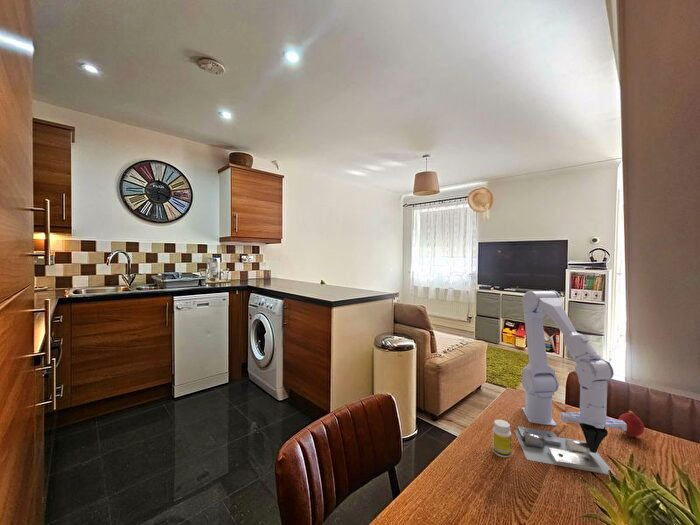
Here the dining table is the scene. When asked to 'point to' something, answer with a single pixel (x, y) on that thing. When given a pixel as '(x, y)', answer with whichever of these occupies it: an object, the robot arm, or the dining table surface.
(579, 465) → the loose leaf
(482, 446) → the dining table surface
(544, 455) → the mat
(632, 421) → the onion
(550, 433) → the fixed leaf
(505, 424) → the supplement bottle
